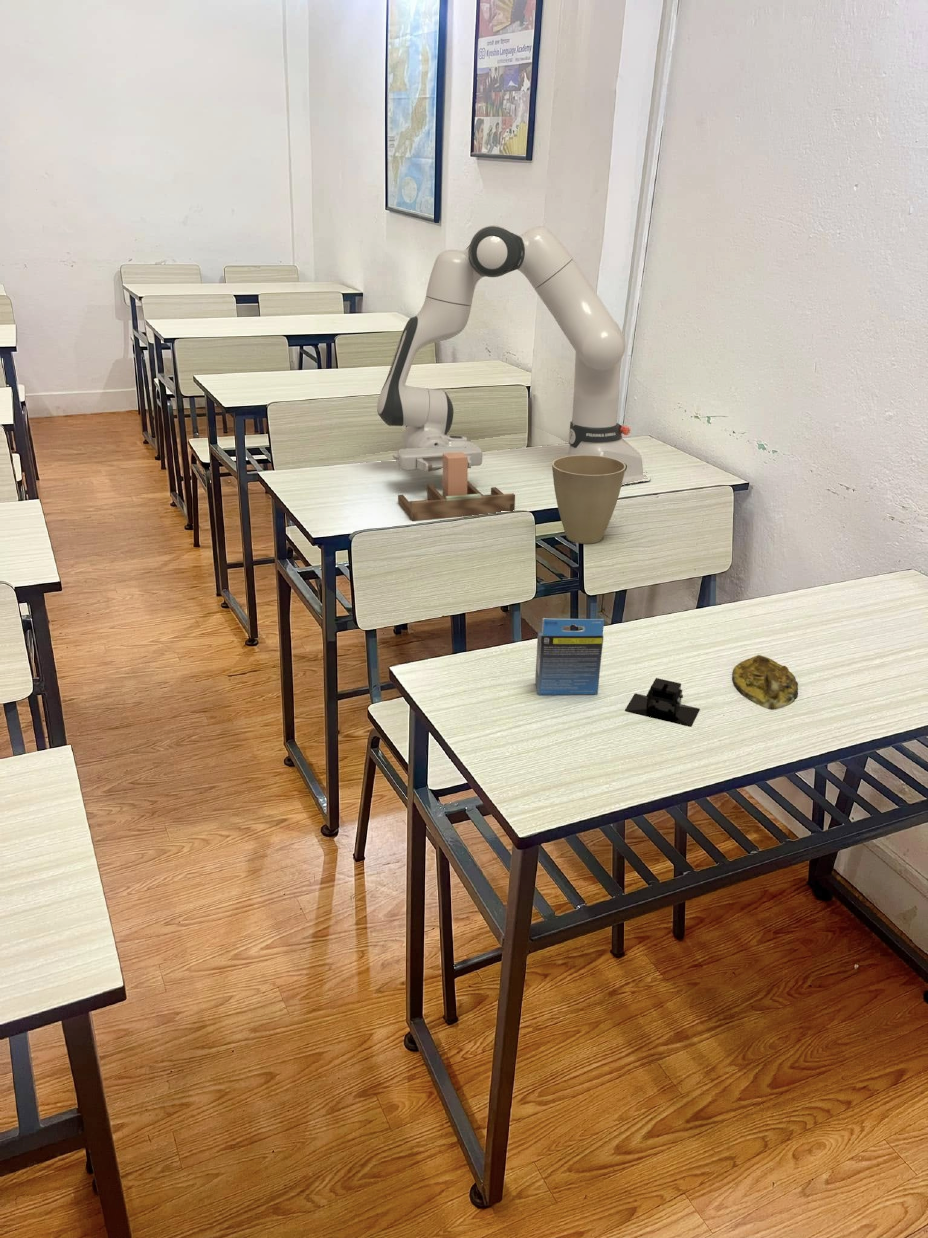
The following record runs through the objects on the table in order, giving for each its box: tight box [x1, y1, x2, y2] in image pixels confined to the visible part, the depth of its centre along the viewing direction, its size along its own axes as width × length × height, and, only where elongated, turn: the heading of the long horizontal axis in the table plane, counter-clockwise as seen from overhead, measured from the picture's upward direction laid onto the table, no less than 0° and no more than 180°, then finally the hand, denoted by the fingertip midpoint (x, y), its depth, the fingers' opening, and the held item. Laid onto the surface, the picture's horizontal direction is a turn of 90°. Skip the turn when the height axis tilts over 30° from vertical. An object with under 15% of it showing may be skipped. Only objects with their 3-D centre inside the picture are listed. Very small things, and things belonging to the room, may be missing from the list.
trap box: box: [397, 480, 516, 522], centre depth 205 cm, size 24×13×5 cm, turn 108°
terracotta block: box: [442, 452, 469, 499], centre depth 204 cm, size 4×4×12 cm
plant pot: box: [551, 455, 626, 545], centre depth 185 cm, size 15×15×16 cm
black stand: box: [624, 677, 701, 728], centre depth 125 cm, size 12×7×5 cm, turn 64°
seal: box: [731, 654, 799, 711], centre depth 132 cm, size 9×5×15 cm
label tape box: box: [534, 617, 605, 696], centre depth 128 cm, size 9×4×12 cm, turn 92°
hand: (448, 466), depth 207 cm, fingers open, 8 cm apart
